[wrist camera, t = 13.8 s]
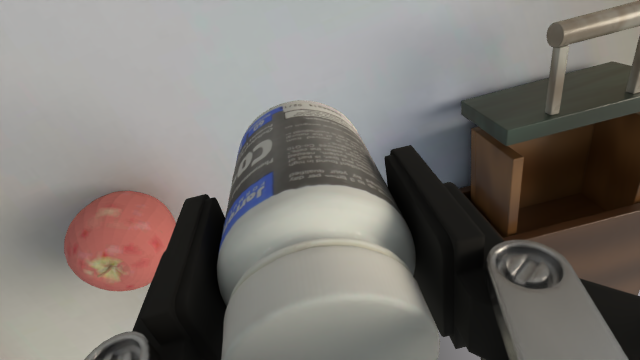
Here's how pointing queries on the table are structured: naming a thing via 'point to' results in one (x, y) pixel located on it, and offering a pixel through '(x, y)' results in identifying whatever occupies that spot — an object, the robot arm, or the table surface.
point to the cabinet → (594, 245)
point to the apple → (119, 240)
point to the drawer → (560, 135)
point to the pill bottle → (317, 248)
